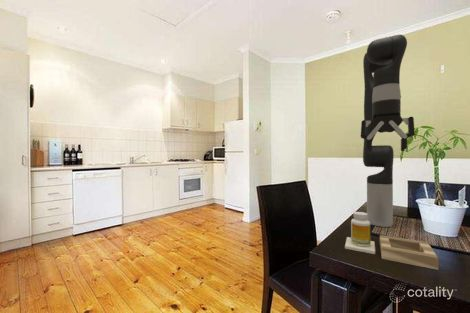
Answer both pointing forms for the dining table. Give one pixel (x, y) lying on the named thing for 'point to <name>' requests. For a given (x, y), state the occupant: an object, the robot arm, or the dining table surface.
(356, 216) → the supplement bottle
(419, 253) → the oak holder
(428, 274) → the dining table surface
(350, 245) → the cream tile
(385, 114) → the robot arm
